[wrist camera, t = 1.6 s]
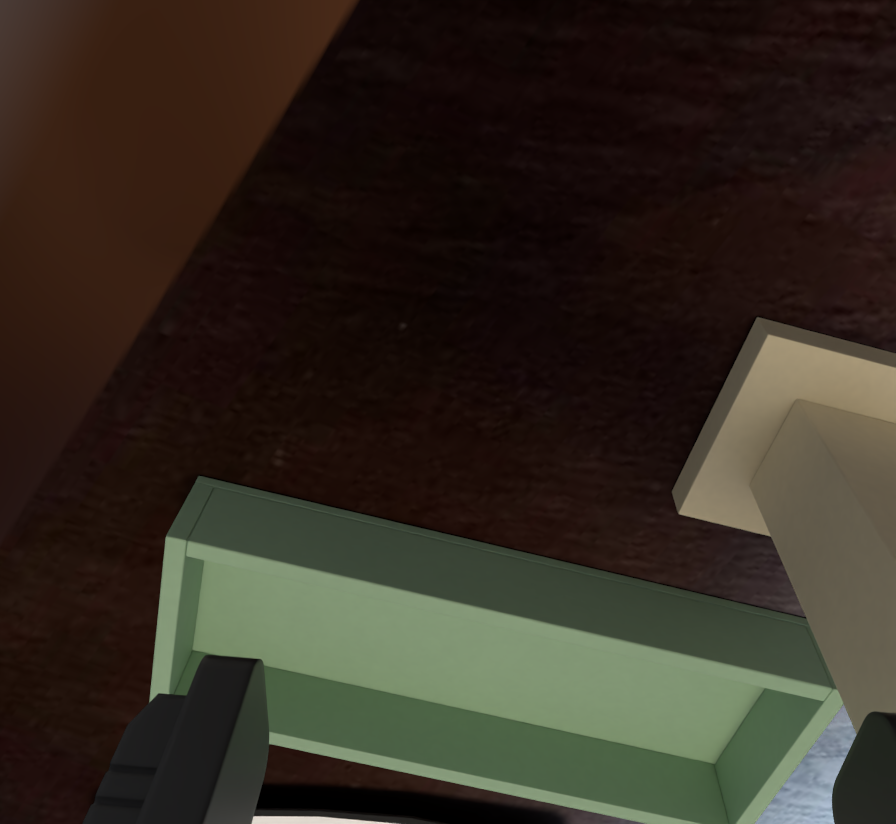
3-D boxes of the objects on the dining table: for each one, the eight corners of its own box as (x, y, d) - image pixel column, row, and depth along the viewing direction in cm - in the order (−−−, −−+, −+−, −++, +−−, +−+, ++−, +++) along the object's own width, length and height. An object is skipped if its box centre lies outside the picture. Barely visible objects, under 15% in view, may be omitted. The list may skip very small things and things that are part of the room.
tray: (177, 649, 40) (147, 718, 37) (198, 475, 35) (165, 536, 31) (720, 768, 42) (740, 843, 39) (819, 621, 37) (852, 693, 33)
